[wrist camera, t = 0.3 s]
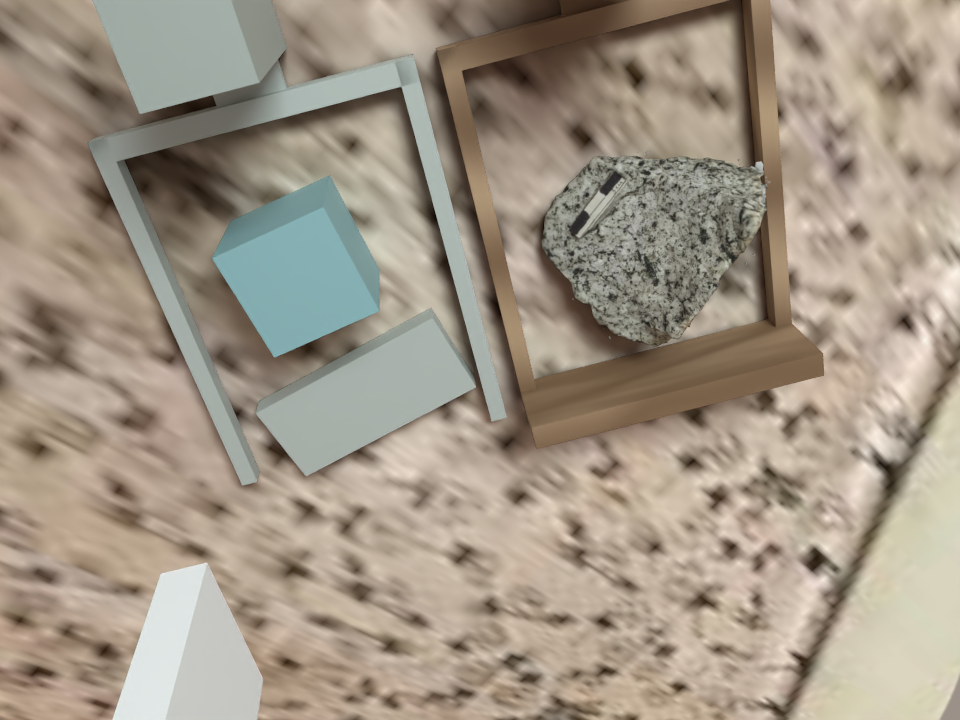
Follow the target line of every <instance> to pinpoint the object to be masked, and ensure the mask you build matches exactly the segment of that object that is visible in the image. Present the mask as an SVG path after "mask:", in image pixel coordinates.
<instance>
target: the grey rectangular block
mask: <svg viewBox="0 0 960 720" xmlns="http://www.w3.org/2000/svg"><path fill="white" fill-rule="evenodd" d="M474 388H476V384H475V379H474V375H473V374H472V372H471V371H470V369H469V367H468V366H467V364H466V363H465V361H464V359H463V358H462V356H461V355H460V353H459V352H458V350H457V348H456V347H455V345H454V344H453V342H452V340H451V339H450V337H449V336H448V334H447V332H446V331H445V329H444V328H443V326H442V324H441V323H440V321H439V320H438V318H437V316H436V315H435V313H434V312H433V310H432V309H431V308H430V309H428V310H426V311H425V312H423V313H421V314H419V315H417V316H415V317H414V318H412V319H410V320H408V321H406V322H404V323H403V324H401V325H399V326H397V327H395V328H393V329H391V330H390V331H388V332H386V333H384V334H382V335H380V336H379V337H377V338H375V339H373V340H371V341H369V342H368V343H366V344H364V345H362V346H360V347H358V348H356V349H355V350H353V351H351V352H349V353H347V354H345V355H344V356H342V357H340V358H338V359H336V360H334V361H332V362H331V363H329V364H327V365H325V366H323V367H321V368H320V369H318V370H316V371H314V372H312V373H310V374H309V375H307V376H305V377H303V378H301V379H299V380H297V381H296V382H294V383H292V384H290V385H288V386H286V387H285V388H283V389H281V390H279V391H277V392H275V393H274V394H272V395H270V396H268V397H266V398H264V399H262V400H261V401H259V403H258V406H257V410H256V415H257V416H258V417H259V418H260V420H261V421H262V422H263V423H264V425H265V426H266V427H267V428H268V430H269V431H270V432H271V433H272V435H273V436H274V437H275V438H276V440H277V441H278V442H279V443H280V445H281V446H282V447H283V448H284V450H285V451H286V452H287V453H288V455H289V456H290V457H291V458H292V460H293V461H294V462H295V463H296V465H297V466H298V467H299V468H300V470H301V471H302V472H303V473H304V475H305V476H308V475H310V474H312V473H314V472H315V471H317V470H319V469H321V468H323V467H325V466H327V465H329V464H331V463H333V462H335V461H336V460H338V459H340V458H342V457H344V456H346V455H348V454H350V453H352V452H354V451H356V450H357V449H359V448H361V447H363V446H365V445H367V444H369V443H371V442H373V441H375V440H376V439H378V438H380V437H382V436H384V435H386V434H388V433H390V432H392V431H394V430H396V429H397V428H399V427H401V426H403V425H405V424H407V423H409V422H411V421H413V420H415V419H417V418H418V417H420V416H422V415H424V414H426V413H428V412H430V411H432V410H434V409H436V408H438V407H439V406H441V405H443V404H445V403H447V402H449V401H451V400H453V399H455V398H457V397H459V396H460V395H462V394H464V393H466V392H468V391H470V390H472V389H474Z"/></svg>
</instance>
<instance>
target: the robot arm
mask: <svg viewBox="0 0 960 720" xmlns="http://www.w3.org/2000/svg"><path fill="white" fill-rule="evenodd" d="M262 684H263V678H262V676H261V674H260V671H259V669H258V667H257V665H256V663H255V661H254V659H253V657H252V655H251V653H250V651H249V649H248V647H247V644H246V642H245V640H244V638H243V636H242V634H241V632H240V630H239V628H238V626H237V624H236V622H235V620H234V617H233V615H232V613H231V611H230V609H229V607H228V605H227V603H226V601H225V599H224V597H223V595H222V593H221V591H220V588H219V586H218V584H217V582H216V580H215V578H214V576H213V574H212V572H211V570H210V568H209V566H208V564H207V563H204V564H199V565H195V566H191V567H187V568H183V569H179V570H174V571H170V572H166V573H162V574H161V575H160V578H159V581H158V584H157V587H156V590H155V593H154V596H153V599H152V602H151V605H150V608H149V611H148V614H147V617H146V620H145V623H144V626H143V629H142V632H141V635H140V638H139V641H138V644H137V647H136V650H135V653H134V656H133V659H132V662H131V665H130V668H129V671H128V675H127V678H126V681H125V684H124V687H123V690H122V693H121V696H120V699H119V702H118V705H117V708H116V711H115V714H114V717H113V720H257V717H258V710H259V704H260V697H261V690H262Z"/></svg>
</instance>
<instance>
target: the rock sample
mask: <svg viewBox="0 0 960 720" xmlns="http://www.w3.org/2000/svg"><path fill="white" fill-rule="evenodd" d="M648 152H649V151H648ZM637 153H638V152H637ZM644 155H647V154H646V153H645V154H644ZM738 161H739V159H738ZM754 165H755V164H754ZM763 174H764V171H763V163H762V161H761V162H756V166H755V167H752V166H750V167H738V166H736V165H734V164H732V163H725V161H721V160H714V159H711V158H703V159H690V158H689V157H685V156H680V157H674V158H668V159H645V158H641V157H638V156H631V157H630V156H621V157H617V158H611V157H602V156H596V157H594V158H593V159H592V160H591V161H590V163H589V164H588V165H587V166H586V167H584V168H583V169H582V171H581V172H580V174H579V175H578V176H577V177H576V178H575V179H574V180H573V181H571V183H569V184H568V185H567V186H566V188H565V190H564V192H562V193H561V194H559V195H557V196H556V197H555V200H554V202H553V203H552V206H551V207H550V208H551V209H550V210H548V212H547V214H546V216H545V220H544V231H543V238H544V239H543V240H542V247H543V249H544V251H545V253H546V255H547V258H548V259H549V260H550V261H551V262H553V263H554V265H555V266H556V267H557V269H558V270H559V271H561V272H562V273H563V274H564V276H565V277H566V278H567V279H568V280H569V281H570V282H571V284H572V289H573V293H574V296H575V298H576V299H578V300H579V301H580V302H582V303H585V304H587V305H590V306H591V308H592V312H593V317H594V318H595V320H596V321H597V323H598V324H600V325H604V329H605V326H607V327H608V328H609V329H610V330H611V331H612V332H613V333H614V334H615V335H617V336H623V337H624V338H625V339H629V340H632V341H638V342H643V343H645V344H647V345H651V346H653V347H656V346H658V345H660V344H663V343H667V341H668V340H670V339H671V338H674V339H679V338H680V337H681V335H682V334H683V332H684V331H685V329H686V328H687V327H690V324H691V322H692V320H693V319H694V317H695V316H696V315H697V314H698V313H699V311H700V310H702V308H703V307H704V305H705V304H706V302H707V301H709V297H710V296H711V295H712V294H713V293H714V291H715V290H716V289H717V287H718V286H719V281H720V279H721V277H722V275H723V274H724V273H725V271H727V270H728V268H729V267H730V265H731V264H732V263H733V262H734V261H735V260H736V259H737V258H738V256H739V254H741V253H743V252H744V251H745V249H746V247H747V246H748V244H749V243H750V242H751V241H752V242H753V238H754V236H755V235H756V233H757V231H758V230H759V228H760V225H761V221H762V218H763V215H764V212H765V211H766V210H767V209H766V204H765V202H766V201H765V198H766V194H765V193H766V191H765V190H766V189H768V186H767V183H765V185H763V184H762V183H761V179H760V178H761V176H763ZM765 178H767V177H765ZM766 181H767V182H768V180H766ZM769 182H770V181H769ZM764 207H765V209H764ZM757 235H758V234H757ZM754 255H755V254H753V256H754ZM744 262H745V261H744ZM737 264H738V263H737ZM745 265H747V263H745ZM731 267H732V266H731ZM572 299H573V298H572ZM573 300H574V299H573ZM604 329H603V330H604ZM609 338H610V336H609ZM610 339H611V338H610Z"/></svg>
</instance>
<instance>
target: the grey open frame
mask: <svg viewBox="0 0 960 720" xmlns="http://www.w3.org/2000/svg"><path fill="white" fill-rule="evenodd" d="M92 1H93V3H94V6H95V8H96V10H97V13H98V15H99V18H100V20H101V22H102V25H103V27H104V30H105V32H106V34H107V37H108V39H109V42H110V44H111V46H112V49H113V51H114V54H115V56H116V58H117V61H118V63H119V66H120V68H121V70H122V73H123V75H124V78H125V80H126V82H127V85H128V87H129V90H130V92H131V94H132V97H133V99H134V102H135V104H136V106H137V109H138V111H139V114H143V113H146V112H150V111H154V110H158V109H162V108H165V107H169V106H173V105H177V104H180V103H184V102H188V101H192V100H196V99H199V98H203V97H207V96H211V95H213V98H214V100H215V103H216V106H214V107H210V108H206V109H203V110H199V111H195V112H191V113H187V114H184V115H180V116H176V117H172V118H168V119H165V120H161V121H157V122H153V123H149V124H146V125H142V126H138V127H134V128H130V129H127V130H123V131H119V132H115V133H112V134H108V135H104V136H100V137H96V138H94V139H92V140H91V141H90V142H88V143H87V144H88V146H89V148H90V150H91V153H92V155H93V157H94V159H95V161H96V164H97V166H98V168H99V170H100V173H101V175H102V177H103V179H104V181H105V184H106V186H107V188H108V190H109V192H110V195H111V197H112V199H113V201H114V203H115V206H116V208H117V210H118V212H119V214H120V217H121V219H122V221H123V223H124V226H125V228H126V230H127V232H128V234H129V237H130V239H131V241H132V243H133V245H134V248H135V250H136V252H137V254H138V256H139V259H140V261H141V263H142V265H143V267H144V270H145V272H146V274H147V276H148V279H149V281H150V283H151V285H152V287H153V290H154V292H155V294H156V296H157V298H158V301H159V303H160V305H161V307H162V309H163V312H164V314H165V316H166V318H167V320H168V323H169V325H170V327H171V329H172V332H173V334H174V336H175V338H176V340H177V343H178V345H179V347H180V349H181V351H182V354H183V356H184V358H185V360H186V362H187V365H188V367H189V369H190V371H191V373H192V376H193V378H194V380H195V382H196V385H197V387H198V389H199V391H200V393H201V396H202V398H203V400H204V402H205V404H206V407H207V409H208V411H209V413H210V415H211V418H212V420H213V422H214V424H215V426H216V429H217V431H218V433H219V435H220V438H221V440H222V442H223V444H224V446H225V449H226V451H227V453H228V455H229V457H230V460H231V462H232V464H233V466H234V468H235V471H236V473H237V475H238V477H239V479H240V482H241V484H242V486H243V485H247V484H251V483H255V482H257V481H258V477H259V472H260V470H259V468H258V465H257V463H256V461H255V459H254V456H253V454H252V452H251V449H250V447H249V445H248V443H247V440H246V438H245V436H244V433H243V431H242V429H241V426H240V424H239V422H238V420H237V417H236V415H235V413H234V410H233V408H232V406H231V404H230V401H229V399H228V397H227V394H226V392H225V390H224V387H223V385H222V383H221V381H220V378H219V376H218V374H217V371H216V369H215V367H214V365H213V362H212V360H211V358H210V355H209V353H208V351H207V349H206V346H205V344H204V342H203V339H202V337H201V335H200V332H199V330H198V328H197V326H196V323H195V321H194V319H193V316H192V314H191V312H190V310H189V307H188V305H187V303H186V300H185V298H184V296H183V294H182V291H181V289H180V287H179V284H178V282H177V280H176V277H175V275H174V273H173V271H172V268H171V266H170V264H169V261H168V259H167V257H166V255H165V252H164V250H163V248H162V245H161V243H160V241H159V238H158V236H157V234H156V232H155V229H154V227H153V225H152V222H151V220H150V218H149V216H148V213H147V211H146V209H145V206H144V204H143V202H142V200H141V197H140V195H139V193H138V190H137V188H136V186H135V183H134V181H133V179H132V177H131V174H130V172H129V170H128V167H127V165H126V163H125V161H124V159H128V158H132V157H136V156H139V155H143V154H147V153H151V152H155V151H158V150H162V149H166V148H170V147H174V146H177V145H181V144H185V143H189V142H193V141H196V140H200V139H204V138H208V137H212V136H215V135H219V134H223V133H227V132H231V131H234V130H238V129H242V128H246V127H250V126H253V125H257V124H261V123H265V122H269V121H272V120H276V119H280V118H284V117H288V116H291V115H295V114H299V113H303V112H307V111H310V110H314V109H318V108H322V107H326V106H329V105H333V104H337V103H341V102H345V101H348V100H352V99H356V98H360V97H364V96H367V95H371V94H375V93H379V92H383V91H386V90H390V89H394V88H398V87H402V90H403V94H404V98H405V101H406V105H407V109H408V112H409V116H410V120H411V124H412V127H413V131H414V135H415V138H416V142H417V146H418V150H419V153H420V157H421V161H422V164H423V168H424V172H425V176H426V179H427V183H428V187H429V190H430V194H431V198H432V202H433V205H434V209H435V213H436V216H437V220H438V224H439V228H440V231H441V235H442V239H443V243H444V246H445V250H446V254H447V257H448V261H449V265H450V269H451V272H452V276H453V280H454V283H455V287H456V291H457V295H458V298H459V302H460V306H461V309H462V313H463V317H464V321H465V324H466V328H467V332H468V335H469V339H470V343H471V347H472V350H473V354H474V358H475V361H476V365H477V369H478V373H479V376H480V380H481V384H482V387H483V391H484V395H485V399H486V402H487V406H488V410H489V413H490V417H491V421H496V420H500V419H504V418H507V416H506V412H505V408H504V405H503V401H502V397H501V393H500V389H499V385H498V381H497V377H496V374H495V370H494V366H493V362H492V358H491V354H490V350H489V346H488V343H487V339H486V335H485V331H484V327H483V323H482V319H481V316H480V312H479V308H478V304H477V300H476V296H475V292H474V288H473V285H472V281H471V277H470V273H469V269H468V265H467V261H466V258H465V254H464V250H463V246H462V242H461V238H460V234H459V230H458V227H457V223H456V219H455V215H454V211H453V207H452V203H451V199H450V196H449V192H448V188H447V184H446V180H445V176H444V172H443V169H442V165H441V161H440V157H439V153H438V149H437V145H436V141H435V138H434V134H433V130H432V126H431V122H430V118H429V114H428V110H427V107H426V103H425V99H424V95H423V91H422V87H421V83H420V80H419V76H418V72H417V68H416V64H415V60H414V56H413V54H411V55H407V56H404V57H400V58H396V59H392V60H388V61H385V62H381V63H377V64H373V65H369V66H366V67H362V68H358V69H354V70H350V71H347V72H343V73H339V74H335V75H331V76H328V77H324V78H320V79H316V80H312V81H309V82H305V83H301V84H297V85H294V86H290V87H287V84H286V81H285V78H284V75H283V72H282V69H281V66H280V63H279V60H278V59H279V57H280V56H281V55H282V53H283V52H284V51H285V50H286V48H287V46H286V43H285V40H284V37H283V34H282V31H281V28H280V25H279V22H278V19H277V15H276V12H275V9H274V6H273V3H272V0H92Z"/></svg>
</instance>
